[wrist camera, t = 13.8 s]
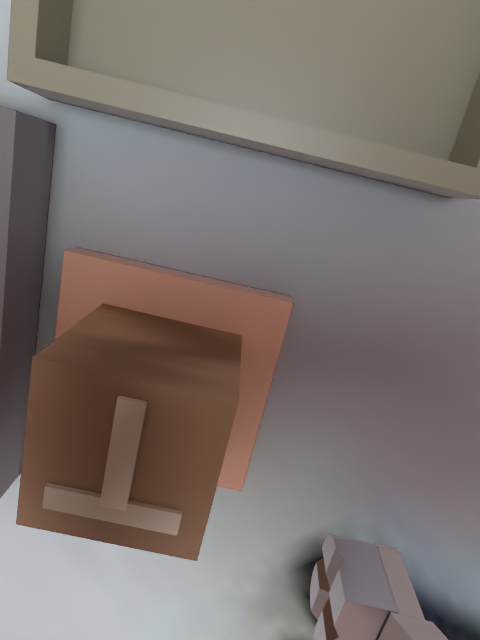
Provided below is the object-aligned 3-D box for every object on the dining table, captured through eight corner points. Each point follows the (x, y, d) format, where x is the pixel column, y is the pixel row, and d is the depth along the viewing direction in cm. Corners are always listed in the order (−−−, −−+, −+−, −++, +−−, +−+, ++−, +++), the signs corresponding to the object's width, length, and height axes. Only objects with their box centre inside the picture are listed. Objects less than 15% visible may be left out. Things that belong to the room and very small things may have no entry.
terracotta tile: (290, 296, 16) (293, 303, 15) (241, 475, 18) (241, 491, 17) (75, 247, 15) (64, 250, 14) (54, 435, 17) (42, 449, 16)
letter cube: (241, 335, 15) (238, 405, 10) (212, 453, 16) (196, 565, 11) (102, 303, 15) (29, 359, 10) (85, 425, 16) (13, 528, 11)
